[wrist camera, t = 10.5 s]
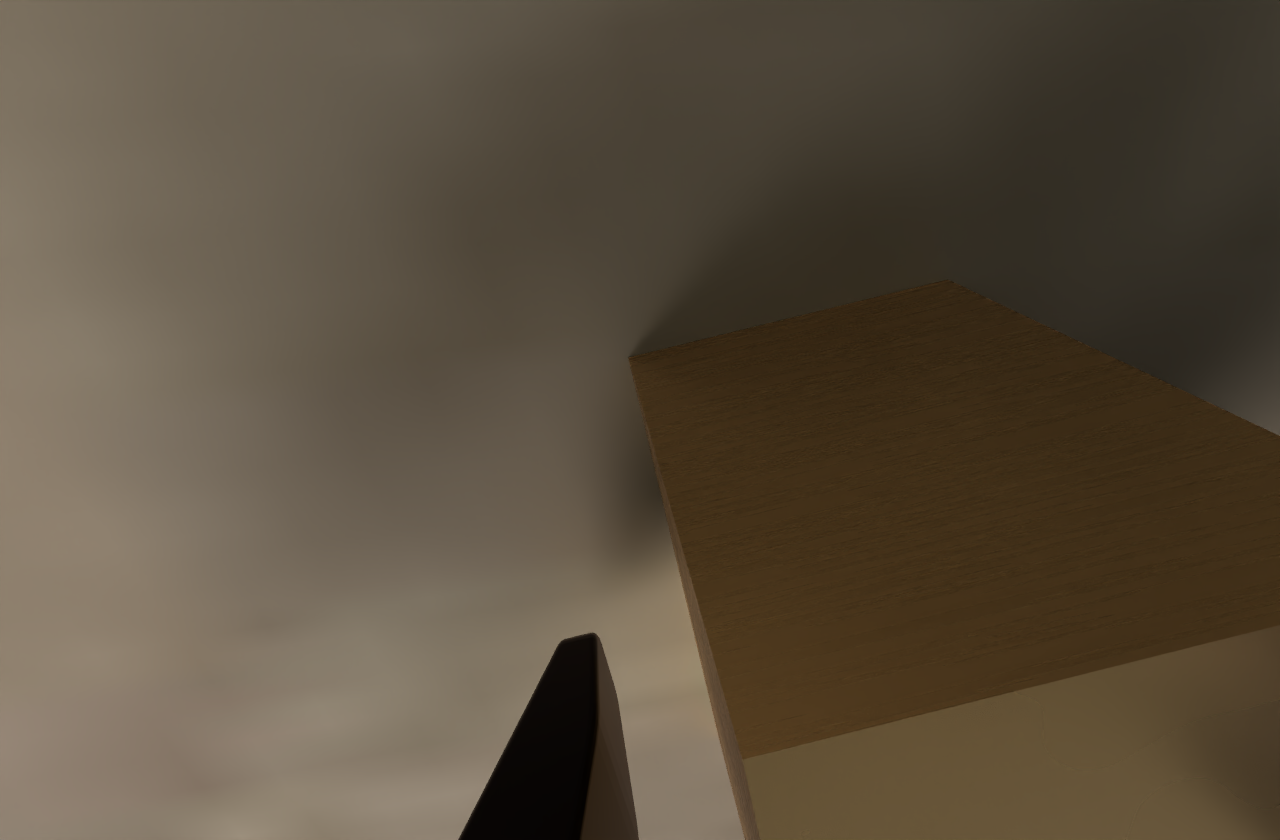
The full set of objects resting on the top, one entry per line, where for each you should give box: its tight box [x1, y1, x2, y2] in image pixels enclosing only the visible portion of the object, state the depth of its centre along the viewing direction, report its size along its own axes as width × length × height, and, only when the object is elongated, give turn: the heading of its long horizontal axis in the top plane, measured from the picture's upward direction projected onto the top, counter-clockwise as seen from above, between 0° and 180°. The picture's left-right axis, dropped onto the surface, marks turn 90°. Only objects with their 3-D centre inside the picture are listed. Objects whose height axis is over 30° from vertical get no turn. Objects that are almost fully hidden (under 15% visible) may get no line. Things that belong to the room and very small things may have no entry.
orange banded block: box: [628, 280, 1280, 840], centre depth 6 cm, size 6×4×5 cm, turn 12°
